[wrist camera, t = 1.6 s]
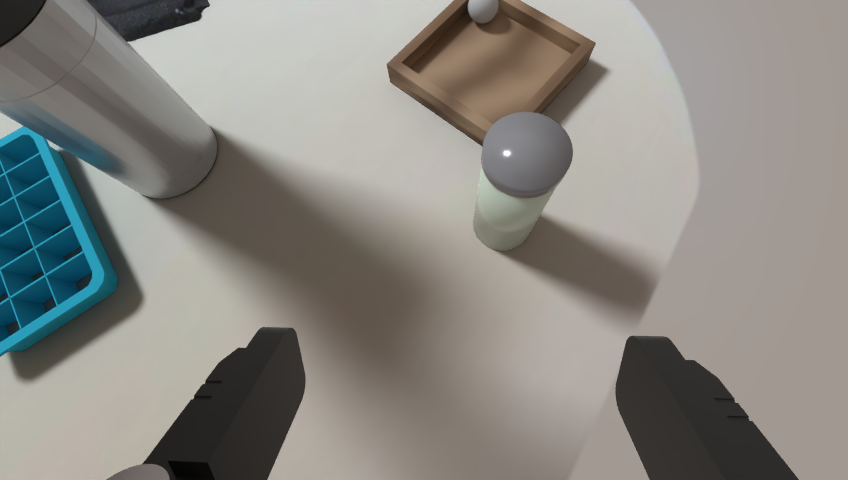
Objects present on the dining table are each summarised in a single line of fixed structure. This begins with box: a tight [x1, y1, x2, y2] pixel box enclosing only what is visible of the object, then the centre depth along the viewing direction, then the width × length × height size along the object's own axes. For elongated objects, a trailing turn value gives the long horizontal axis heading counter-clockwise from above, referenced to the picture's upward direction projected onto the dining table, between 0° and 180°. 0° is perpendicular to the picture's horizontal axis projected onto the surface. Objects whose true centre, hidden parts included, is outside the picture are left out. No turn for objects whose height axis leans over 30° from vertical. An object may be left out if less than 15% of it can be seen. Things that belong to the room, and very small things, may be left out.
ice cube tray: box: [0, 126, 117, 356], centre depth 36 cm, size 12×20×3 cm, turn 36°
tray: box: [387, 0, 596, 146], centre depth 39 cm, size 14×14×2 cm
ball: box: [468, 0, 498, 23], centre depth 40 cm, size 3×3×3 cm
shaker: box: [473, 112, 573, 251], centre depth 29 cm, size 5×5×12 cm
